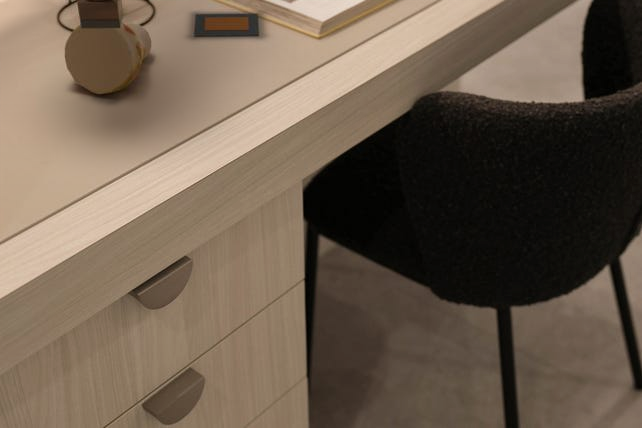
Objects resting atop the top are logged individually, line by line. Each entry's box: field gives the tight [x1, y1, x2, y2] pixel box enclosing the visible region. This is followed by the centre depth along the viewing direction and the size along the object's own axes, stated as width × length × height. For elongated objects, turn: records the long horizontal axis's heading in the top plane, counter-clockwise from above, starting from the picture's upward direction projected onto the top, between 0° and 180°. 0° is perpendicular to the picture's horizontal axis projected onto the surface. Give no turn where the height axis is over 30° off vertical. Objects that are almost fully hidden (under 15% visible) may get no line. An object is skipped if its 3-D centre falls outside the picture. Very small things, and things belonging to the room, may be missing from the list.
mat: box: [193, 13, 260, 38], centre depth 96 cm, size 7×5×1 cm
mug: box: [64, 22, 153, 95], centre depth 85 cm, size 8×10×10 cm
